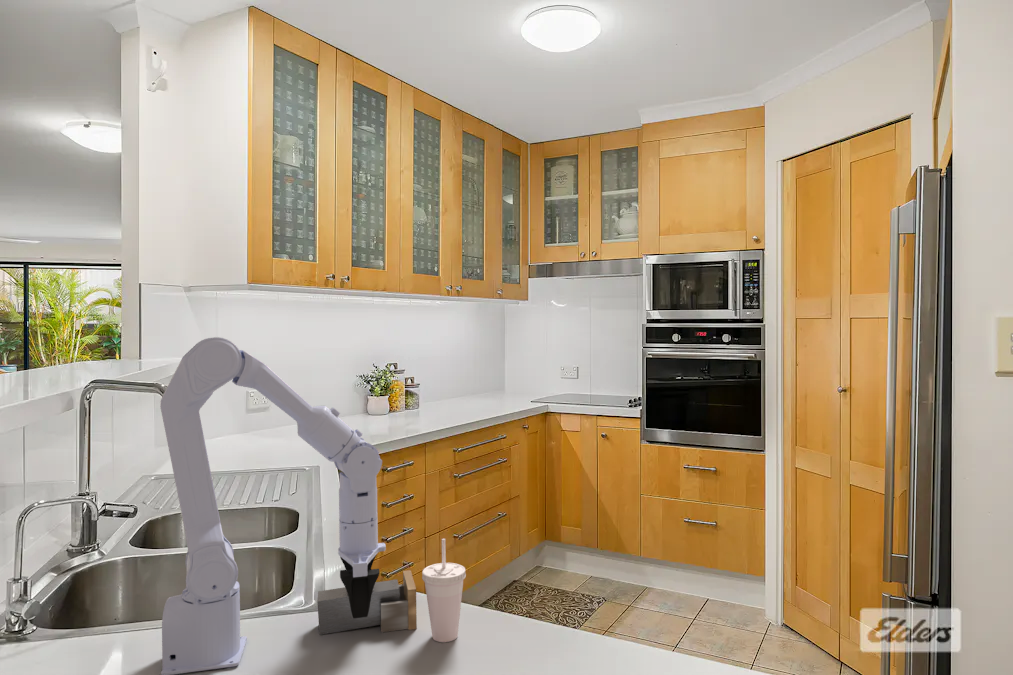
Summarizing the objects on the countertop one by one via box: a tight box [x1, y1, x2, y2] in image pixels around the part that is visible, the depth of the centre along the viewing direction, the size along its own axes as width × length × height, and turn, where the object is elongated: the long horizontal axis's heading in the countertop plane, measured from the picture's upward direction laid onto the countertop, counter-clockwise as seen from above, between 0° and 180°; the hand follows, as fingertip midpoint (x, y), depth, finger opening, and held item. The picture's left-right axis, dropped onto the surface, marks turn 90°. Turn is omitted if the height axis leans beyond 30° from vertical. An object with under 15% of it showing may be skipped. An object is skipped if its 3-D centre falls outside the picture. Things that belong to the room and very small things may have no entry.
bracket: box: [380, 569, 418, 633], centre depth 98 cm, size 5×8×6 cm, turn 15°
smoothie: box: [421, 538, 467, 643], centre depth 92 cm, size 6×6×14 cm
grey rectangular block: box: [316, 578, 400, 636], centre depth 97 cm, size 12×4×5 cm, turn 105°
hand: (359, 607), depth 97 cm, fingers open, 6 cm apart
